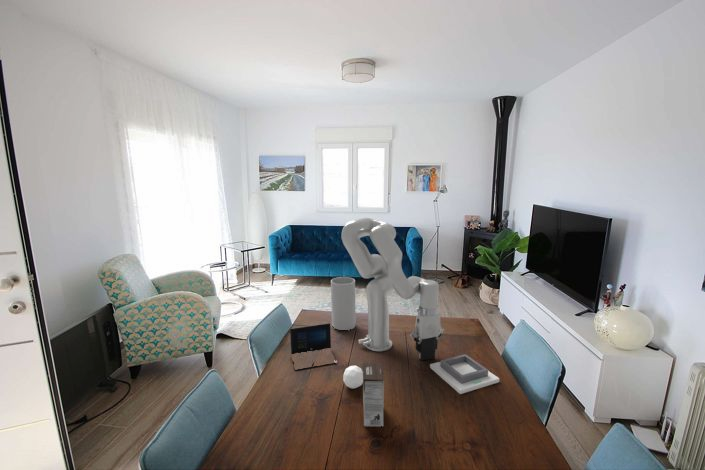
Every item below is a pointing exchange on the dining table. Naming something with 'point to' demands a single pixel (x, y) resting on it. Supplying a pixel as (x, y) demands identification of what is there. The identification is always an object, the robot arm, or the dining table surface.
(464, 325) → the dining table surface
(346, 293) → the cylinder vase
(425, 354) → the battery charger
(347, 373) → the geometric ball
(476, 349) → the dining table surface
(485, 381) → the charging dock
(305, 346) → the laptop
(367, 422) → the coffee box
